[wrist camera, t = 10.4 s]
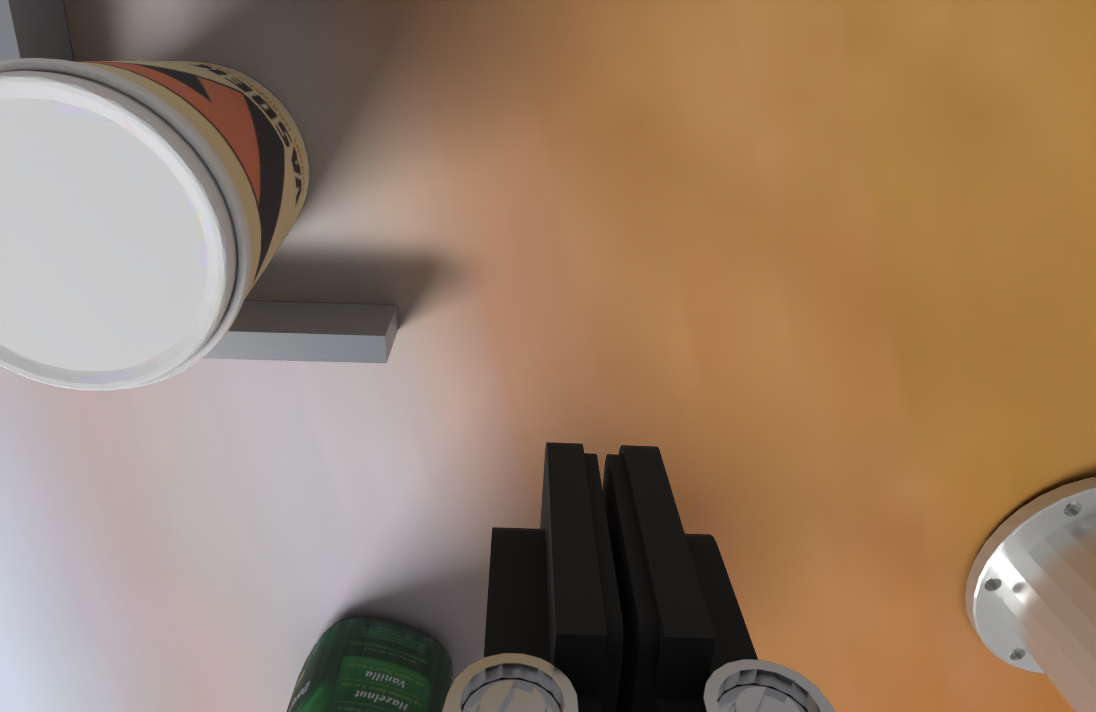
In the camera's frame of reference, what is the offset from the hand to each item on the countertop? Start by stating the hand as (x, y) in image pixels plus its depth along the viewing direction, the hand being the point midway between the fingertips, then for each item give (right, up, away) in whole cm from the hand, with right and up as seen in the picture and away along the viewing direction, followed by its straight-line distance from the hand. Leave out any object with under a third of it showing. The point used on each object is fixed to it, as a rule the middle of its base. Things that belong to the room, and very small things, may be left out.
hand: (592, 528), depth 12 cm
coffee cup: (-14, +11, +20) cm, 27 cm away
